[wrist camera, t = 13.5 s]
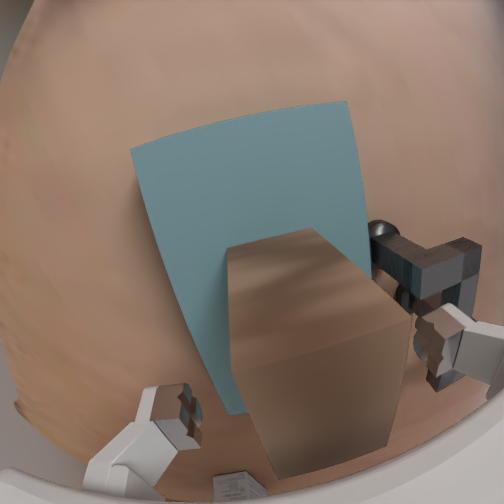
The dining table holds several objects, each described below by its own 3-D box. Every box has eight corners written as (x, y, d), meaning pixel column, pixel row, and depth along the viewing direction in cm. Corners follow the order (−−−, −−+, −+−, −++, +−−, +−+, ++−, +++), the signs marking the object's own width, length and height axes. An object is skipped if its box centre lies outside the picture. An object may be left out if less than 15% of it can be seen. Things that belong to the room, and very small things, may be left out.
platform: (325, 110, 14) (346, 101, 11) (355, 352, 19) (370, 377, 17) (147, 150, 14) (129, 149, 11) (227, 386, 19) (229, 416, 16)
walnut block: (311, 227, 13) (412, 316, 5) (325, 330, 15) (386, 445, 7) (227, 247, 13) (231, 371, 5) (255, 349, 15) (278, 479, 7)
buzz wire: (469, 196, 16) (526, 214, 11) (458, 323, 20) (496, 357, 15) (353, 225, 16) (409, 259, 10) (360, 367, 20) (391, 419, 14)
